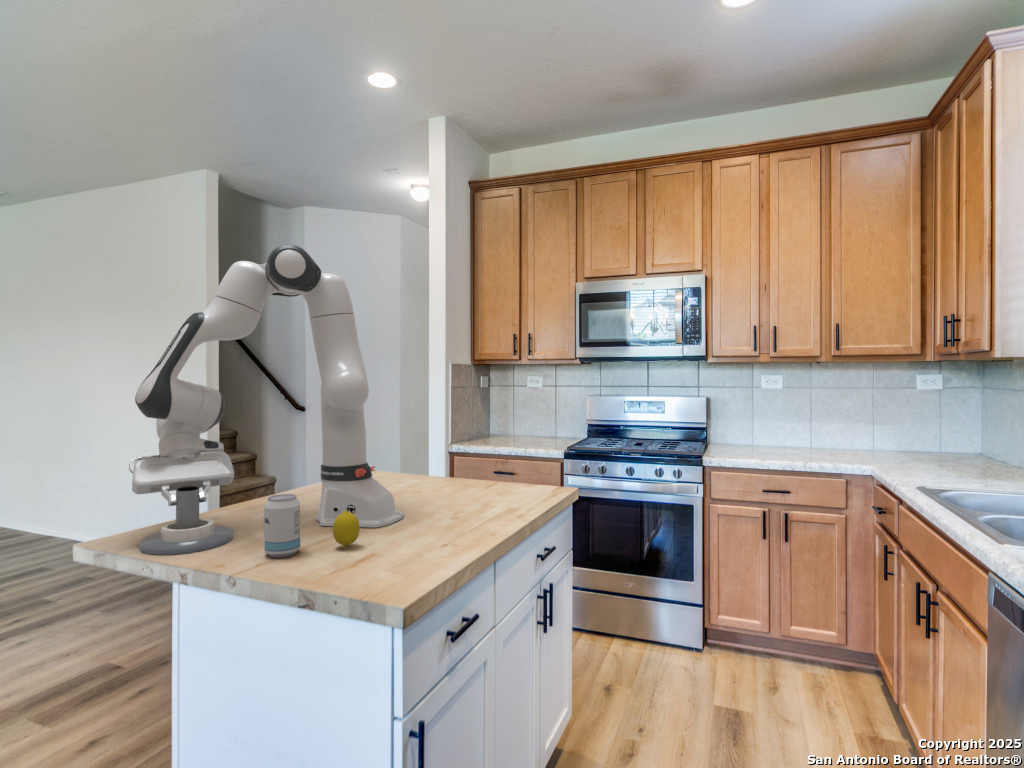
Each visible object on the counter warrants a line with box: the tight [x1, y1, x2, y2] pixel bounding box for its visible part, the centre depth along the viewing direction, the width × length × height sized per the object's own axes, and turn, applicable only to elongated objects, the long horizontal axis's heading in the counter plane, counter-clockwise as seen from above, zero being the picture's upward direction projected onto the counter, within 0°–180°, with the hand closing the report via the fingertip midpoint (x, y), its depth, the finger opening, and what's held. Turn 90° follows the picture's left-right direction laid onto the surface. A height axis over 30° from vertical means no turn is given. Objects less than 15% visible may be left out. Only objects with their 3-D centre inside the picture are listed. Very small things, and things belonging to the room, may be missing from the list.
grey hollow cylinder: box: [175, 486, 200, 530], centre depth 126 cm, size 4×4×10 cm
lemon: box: [332, 511, 360, 548], centre depth 122 cm, size 6×6×8 cm
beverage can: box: [263, 493, 301, 559], centre depth 117 cm, size 7×7×12 cm
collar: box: [139, 518, 234, 556], centre depth 126 cm, size 18×18×4 cm
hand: (188, 502), depth 125 cm, fingers closed on grey hollow cylinder, 4 cm apart
